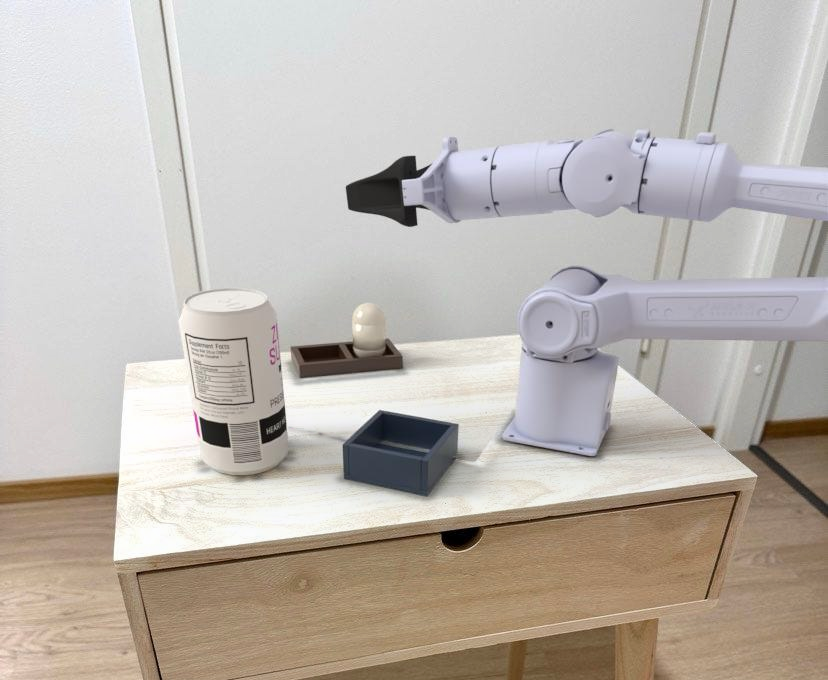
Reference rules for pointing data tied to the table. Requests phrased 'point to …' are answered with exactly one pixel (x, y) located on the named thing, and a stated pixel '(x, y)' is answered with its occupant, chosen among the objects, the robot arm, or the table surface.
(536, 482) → the table surface
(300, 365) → the tray
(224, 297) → the supplement can
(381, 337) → the cream capsule
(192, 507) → the table surface
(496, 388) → the table surface
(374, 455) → the bin
